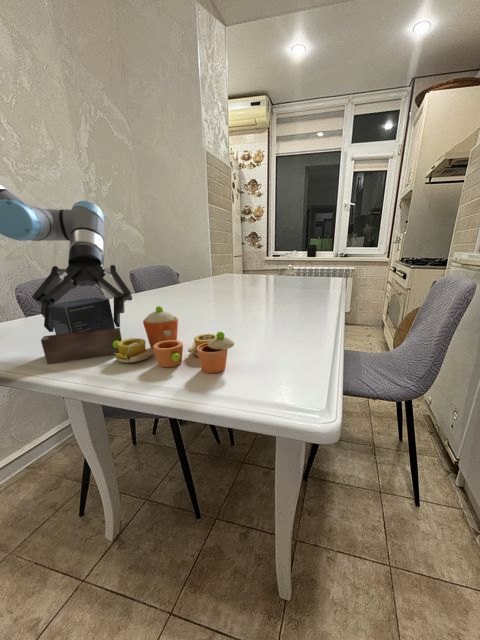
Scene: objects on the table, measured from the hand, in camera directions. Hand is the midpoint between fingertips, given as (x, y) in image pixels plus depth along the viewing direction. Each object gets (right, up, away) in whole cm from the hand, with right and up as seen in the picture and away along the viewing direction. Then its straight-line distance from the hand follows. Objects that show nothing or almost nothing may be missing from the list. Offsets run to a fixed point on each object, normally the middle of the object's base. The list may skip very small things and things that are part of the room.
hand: (83, 326), depth 65 cm
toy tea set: (+23, -7, -3) cm, 24 cm away
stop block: (+3, -7, -3) cm, 8 cm away
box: (-1, -4, +3) cm, 6 cm away
